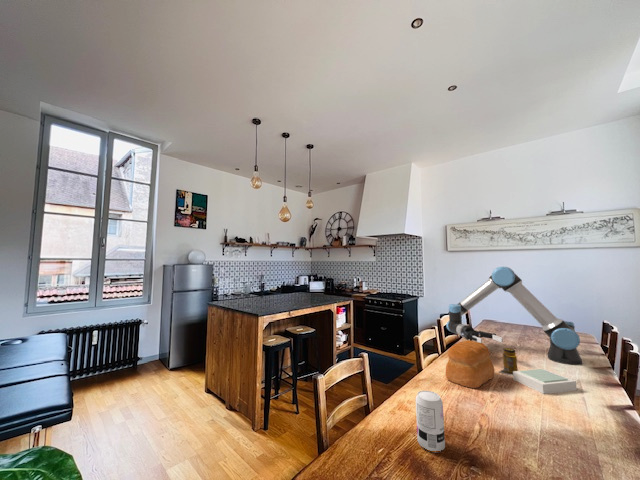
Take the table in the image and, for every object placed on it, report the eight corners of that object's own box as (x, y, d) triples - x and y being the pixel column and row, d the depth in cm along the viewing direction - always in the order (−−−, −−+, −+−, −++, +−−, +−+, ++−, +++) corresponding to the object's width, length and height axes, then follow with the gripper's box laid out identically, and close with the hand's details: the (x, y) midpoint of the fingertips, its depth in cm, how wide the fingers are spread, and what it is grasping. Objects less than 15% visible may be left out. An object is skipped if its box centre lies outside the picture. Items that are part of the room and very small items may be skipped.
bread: (442, 380, 132) (440, 344, 134) (465, 367, 148) (463, 335, 150) (476, 391, 120) (473, 352, 122) (497, 376, 136) (495, 341, 138)
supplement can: (413, 437, 88) (411, 390, 90) (436, 435, 89) (434, 389, 90) (424, 454, 80) (422, 402, 82) (450, 452, 81) (447, 401, 82)
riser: (543, 376, 134) (542, 367, 135) (576, 390, 120) (575, 379, 120) (513, 379, 131) (512, 370, 132) (543, 394, 116) (542, 383, 117)
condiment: (521, 373, 139) (519, 349, 141) (514, 376, 135) (512, 352, 136) (505, 368, 145) (503, 346, 147) (498, 372, 141) (496, 349, 142)
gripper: (482, 336, 174) (511, 346, 153) (448, 338, 170) (473, 348, 149) (482, 324, 175) (510, 333, 154) (448, 326, 170) (472, 334, 150)
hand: (492, 340), depth 151 cm, fingers open, 13 cm apart
